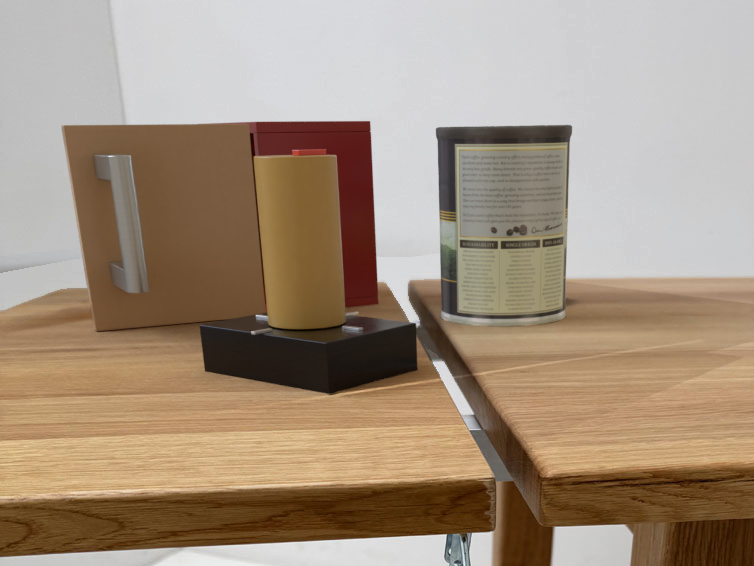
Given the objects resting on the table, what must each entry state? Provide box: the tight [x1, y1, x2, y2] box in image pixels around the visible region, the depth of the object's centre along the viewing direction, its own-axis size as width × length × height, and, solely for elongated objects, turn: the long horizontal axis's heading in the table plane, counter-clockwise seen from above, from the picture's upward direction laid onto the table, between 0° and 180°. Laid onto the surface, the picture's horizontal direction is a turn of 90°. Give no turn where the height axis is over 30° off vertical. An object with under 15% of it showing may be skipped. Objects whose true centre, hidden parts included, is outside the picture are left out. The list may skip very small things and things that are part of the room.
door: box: [60, 123, 266, 332], centre depth 76 cm, size 7×14×14 cm, turn 118°
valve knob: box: [253, 149, 347, 329], centre depth 61 cm, size 5×5×10 cm
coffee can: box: [435, 124, 573, 328], centre depth 80 cm, size 10×10×14 cm
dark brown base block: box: [199, 310, 418, 396], centre depth 64 cm, size 11×9×3 cm
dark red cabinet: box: [208, 120, 379, 313], centre depth 89 cm, size 10×14×15 cm
